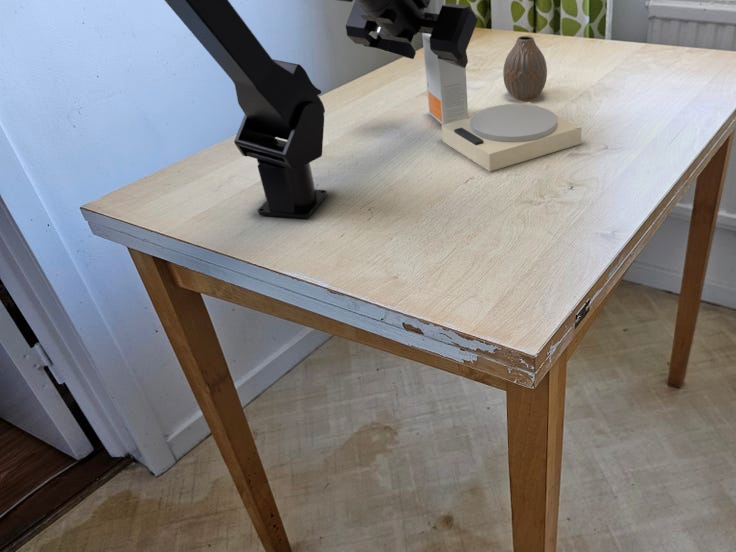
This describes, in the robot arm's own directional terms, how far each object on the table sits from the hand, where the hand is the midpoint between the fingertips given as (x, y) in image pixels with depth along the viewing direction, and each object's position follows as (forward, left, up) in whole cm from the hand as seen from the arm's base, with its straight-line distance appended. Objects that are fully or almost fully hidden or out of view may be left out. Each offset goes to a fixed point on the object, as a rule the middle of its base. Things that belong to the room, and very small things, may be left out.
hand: (439, 60), depth 95 cm
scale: (-7, -11, -9) cm, 16 cm away
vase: (+12, -10, -9) cm, 18 cm away
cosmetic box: (+1, 0, -9) cm, 9 cm away
